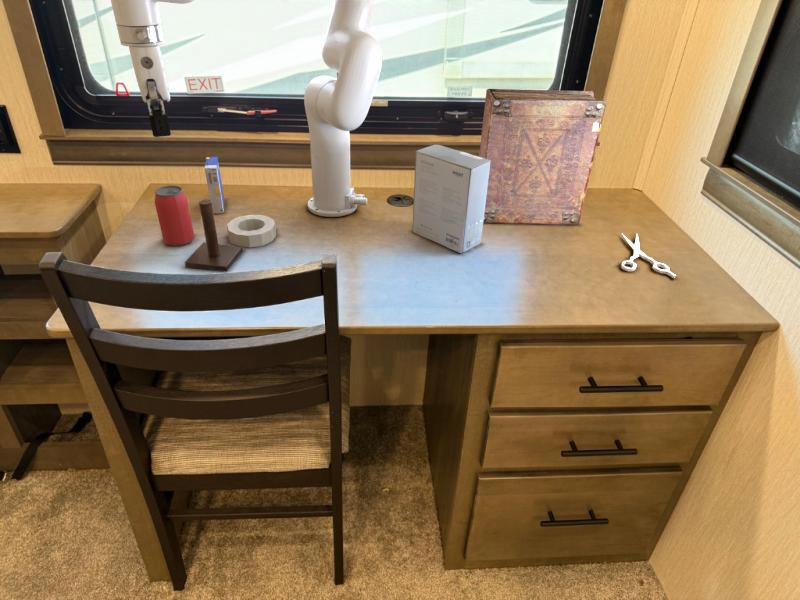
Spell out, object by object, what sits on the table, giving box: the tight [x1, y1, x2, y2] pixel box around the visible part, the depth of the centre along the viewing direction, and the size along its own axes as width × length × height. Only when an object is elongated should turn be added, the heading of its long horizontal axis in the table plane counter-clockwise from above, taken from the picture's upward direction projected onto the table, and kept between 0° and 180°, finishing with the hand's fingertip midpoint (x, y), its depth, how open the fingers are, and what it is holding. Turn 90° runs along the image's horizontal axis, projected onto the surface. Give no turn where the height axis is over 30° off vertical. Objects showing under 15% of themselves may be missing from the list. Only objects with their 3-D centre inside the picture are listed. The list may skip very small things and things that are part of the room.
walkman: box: [204, 156, 225, 214], centre depth 137 cm, size 8×3×12 cm, turn 13°
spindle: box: [184, 199, 244, 272], centre depth 115 cm, size 9×9×13 cm
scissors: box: [620, 232, 677, 279], centre depth 127 cm, size 11×1×20 cm
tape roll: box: [226, 214, 277, 248], centre depth 127 cm, size 10×10×3 cm
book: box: [478, 88, 607, 226], centre depth 133 cm, size 25×9×30 cm, turn 91°
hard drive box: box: [411, 143, 491, 254], centre depth 125 cm, size 16×8×20 cm, turn 47°
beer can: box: [154, 185, 195, 247], centre depth 122 cm, size 7×7×12 cm
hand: (161, 128), depth 111 cm, fingers open, 9 cm apart
